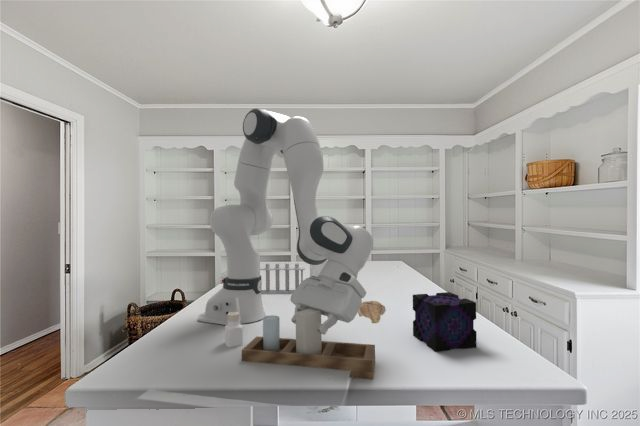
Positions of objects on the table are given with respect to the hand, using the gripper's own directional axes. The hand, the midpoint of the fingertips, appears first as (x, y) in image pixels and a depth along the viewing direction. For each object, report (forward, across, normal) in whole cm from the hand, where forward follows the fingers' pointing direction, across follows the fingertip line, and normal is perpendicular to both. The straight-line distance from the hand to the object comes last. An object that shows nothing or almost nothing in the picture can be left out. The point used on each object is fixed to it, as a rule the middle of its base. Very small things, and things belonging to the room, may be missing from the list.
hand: (306, 327), depth 81 cm
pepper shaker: (+12, -21, +1) cm, 24 cm away
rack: (+6, 0, +7) cm, 9 cm away
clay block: (+5, 0, +6) cm, 7 cm away
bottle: (-28, -45, +41) cm, 67 cm away
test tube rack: (-20, -65, +33) cm, 76 cm away
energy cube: (-20, +15, +32) cm, 41 cm away
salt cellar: (+9, -8, +2) cm, 12 cm away
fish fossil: (-24, -17, +38) cm, 48 cm away
